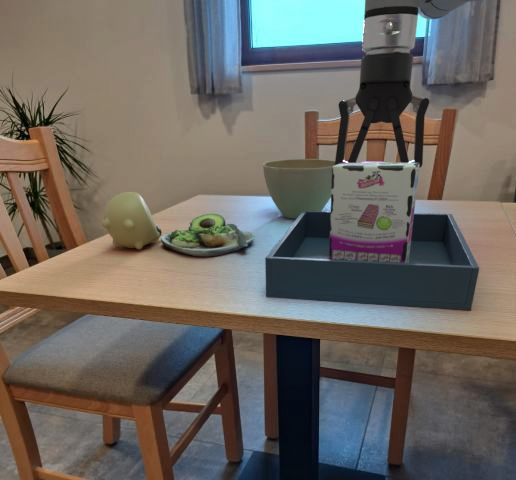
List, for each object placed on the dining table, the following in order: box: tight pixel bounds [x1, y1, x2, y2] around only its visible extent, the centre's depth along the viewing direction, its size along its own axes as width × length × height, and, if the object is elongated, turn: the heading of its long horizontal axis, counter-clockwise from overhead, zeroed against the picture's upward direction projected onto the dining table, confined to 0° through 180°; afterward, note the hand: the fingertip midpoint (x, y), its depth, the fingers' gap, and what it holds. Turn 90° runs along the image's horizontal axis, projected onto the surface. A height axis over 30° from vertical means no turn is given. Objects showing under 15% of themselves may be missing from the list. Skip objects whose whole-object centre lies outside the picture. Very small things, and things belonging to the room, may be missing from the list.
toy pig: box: [101, 191, 163, 250], centre depth 91 cm, size 10×12×11 cm
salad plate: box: [160, 213, 255, 257], centre depth 91 cm, size 19×18×5 cm
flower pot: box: [262, 158, 335, 220], centre depth 111 cm, size 18×18×12 cm
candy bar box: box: [329, 162, 420, 263], centre depth 66 cm, size 11×5×16 cm, turn 67°
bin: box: [264, 210, 480, 311], centre depth 76 cm, size 28×32×6 cm
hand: (373, 211), depth 79 cm, fingers closed on toy block, 6 cm apart
